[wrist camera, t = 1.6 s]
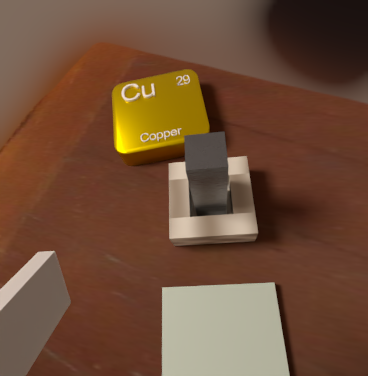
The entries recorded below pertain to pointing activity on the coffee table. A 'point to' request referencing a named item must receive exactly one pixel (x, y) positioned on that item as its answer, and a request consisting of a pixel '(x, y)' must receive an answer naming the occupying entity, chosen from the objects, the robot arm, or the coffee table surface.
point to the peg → (207, 172)
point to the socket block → (215, 224)
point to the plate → (222, 331)
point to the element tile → (157, 116)
